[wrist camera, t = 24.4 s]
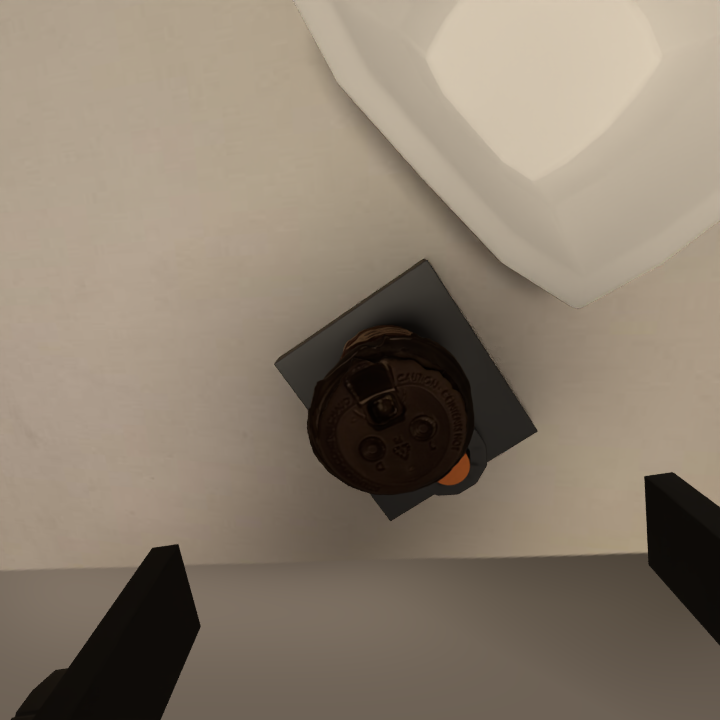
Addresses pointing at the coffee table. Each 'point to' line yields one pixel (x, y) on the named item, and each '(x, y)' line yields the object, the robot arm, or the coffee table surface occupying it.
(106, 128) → the coffee table surface
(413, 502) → the scale
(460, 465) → the button
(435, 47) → the bowl
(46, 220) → the coffee table surface
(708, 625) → the robot arm
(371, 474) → the coffee cup
